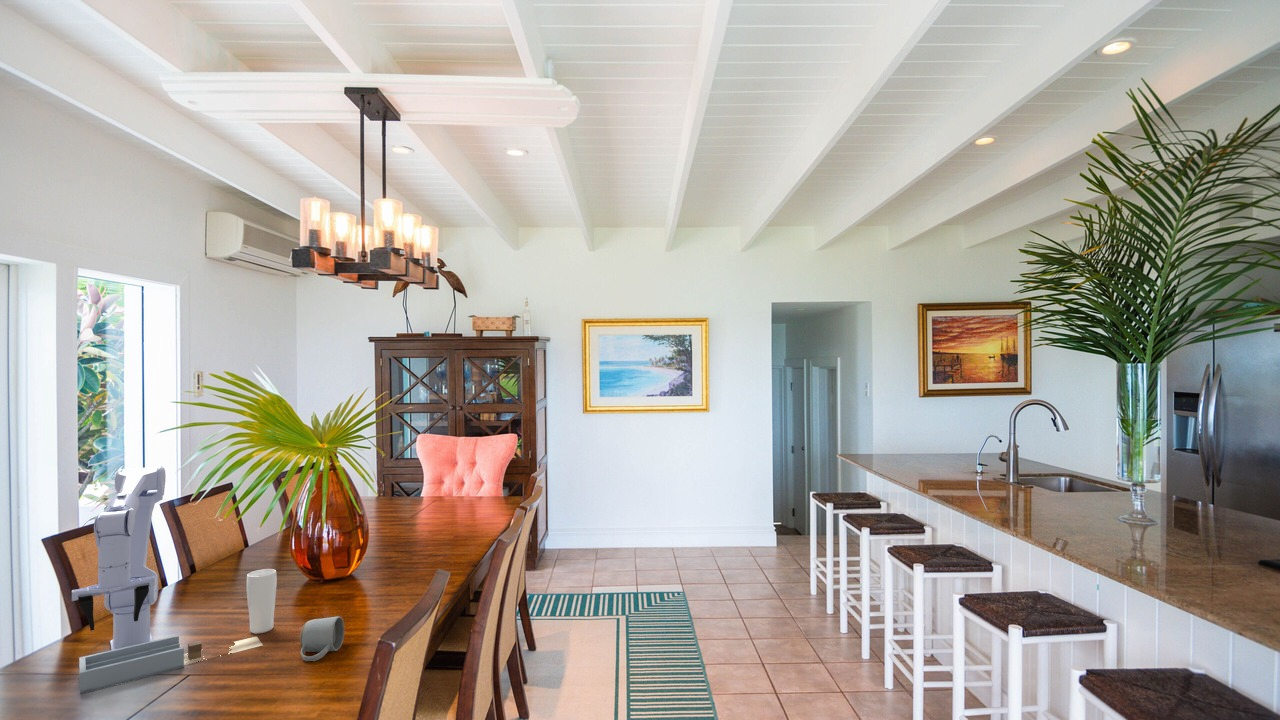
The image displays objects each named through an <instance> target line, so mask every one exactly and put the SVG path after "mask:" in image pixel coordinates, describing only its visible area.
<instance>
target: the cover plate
mask: <svg viewBox="0 0 1280 720" xmlns="http://www.w3.org/2000/svg"><path fill="white" fill-rule="evenodd" d="M201 641H202V640H195V641H191V642H189V643H187V653H184V665H185V666H187V665H188V664H189V663H188V662H190V661H192V659H193V660H195V659H196V660H199V662H200V660H201V657H202V650H203V647H202V646H203V645H202V642H201ZM233 642H234V643H235V645H234V646H231V647H229V648H230V649H232V650H231V651H229V653H228V655H231V654H230V653H232V654H236V653H239V652H243V651H248V650H251V649H255V648H258V647H259V648H260V647H263V646H264V645H263V643H262V642H261V641H260V639H259V638H258V635H256V636H251V637H249V638H245V639H239V640H236V641H233ZM230 649H229V650H230ZM187 654H188V655H187ZM203 657H204V656H203ZM220 657H222V656H221V655H220ZM186 658H187V659H186ZM197 658H199V659H197ZM203 659H205V658H203ZM185 660H187V661H185ZM189 660H190V661H189ZM205 661H208V660H207V659H206V660H205ZM196 662H197V663H199V662H198V661H196ZM196 662H194V661H193V664H197V663H196ZM201 662H204V661H203V660H202V661H201ZM201 662H200V663H201ZM186 663H187V664H186ZM193 664H192V663H191V662H190V664H189V665H193Z"/></svg>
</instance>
